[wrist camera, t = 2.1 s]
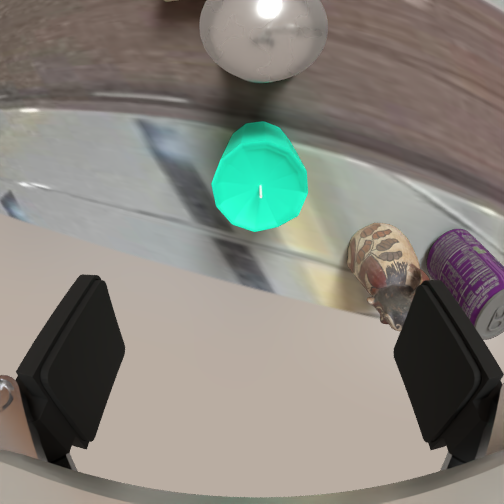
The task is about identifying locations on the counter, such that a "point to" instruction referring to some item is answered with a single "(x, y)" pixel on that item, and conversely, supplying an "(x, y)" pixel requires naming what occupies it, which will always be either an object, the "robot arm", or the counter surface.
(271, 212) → the candle
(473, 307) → the beverage can
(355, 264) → the figurine
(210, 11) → the bobbin post
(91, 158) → the counter surface
